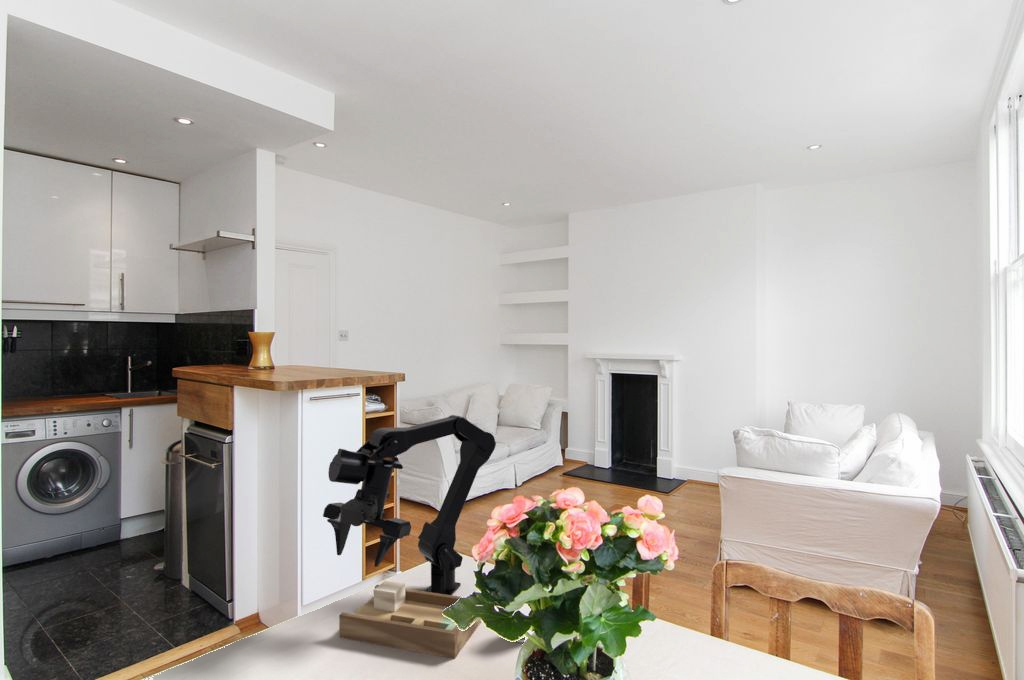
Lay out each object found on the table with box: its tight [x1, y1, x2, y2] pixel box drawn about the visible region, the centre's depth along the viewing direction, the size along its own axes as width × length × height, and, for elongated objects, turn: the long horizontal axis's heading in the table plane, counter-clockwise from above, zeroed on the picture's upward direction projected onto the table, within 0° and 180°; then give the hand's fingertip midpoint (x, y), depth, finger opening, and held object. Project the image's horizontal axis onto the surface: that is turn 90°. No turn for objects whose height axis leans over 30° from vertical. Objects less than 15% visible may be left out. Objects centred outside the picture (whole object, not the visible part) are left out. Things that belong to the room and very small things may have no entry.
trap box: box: [338, 584, 482, 659], centre depth 111 cm, size 14×25×4 cm, turn 72°
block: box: [373, 580, 406, 612], centre depth 116 cm, size 4×5×4 cm
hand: (357, 560), depth 115 cm, fingers open, 9 cm apart
